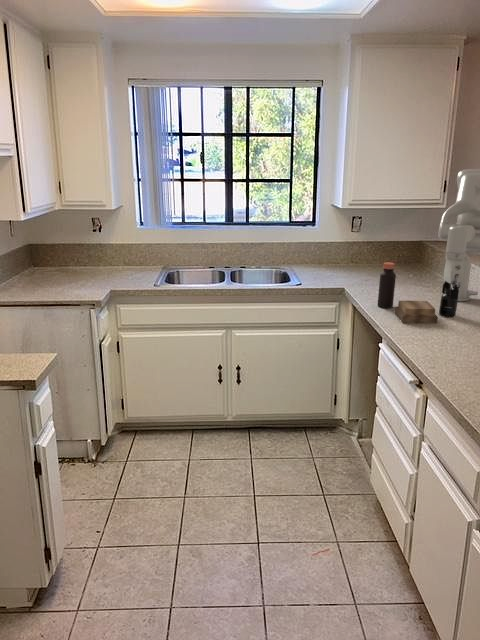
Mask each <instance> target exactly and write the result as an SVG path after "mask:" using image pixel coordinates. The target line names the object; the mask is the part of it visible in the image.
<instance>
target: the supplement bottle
mask: <svg viewBox="0 0 480 640" xmlns="http://www.w3.org/2000/svg"><path fill="white" fill-rule="evenodd" d="M451 289H452V287H446V288H445V291H444V292H445V293H444V294H443V293H441V297H440V304H439V310H438V315H439V316H441V317H443V316H444V317H443V318H455V317H456V315H457V309H458V303H459V301H458V299H450V291H451ZM454 316H455V317H454Z"/></svg>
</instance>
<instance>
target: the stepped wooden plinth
mask: <svg viewBox="0 0 480 640" xmlns="http://www.w3.org/2000/svg"><path fill="white" fill-rule="evenodd" d="M397 303H398V304H397V305H398V306H394V314H395V315H397V316H396V317H397V318H398V319H399V321H400V320H401V321H400V322H401V324H418V323H437V324H438V315H436V308H435V307H434V306H433V305H432V304H431V303H430V302H428V300H398V302H397Z"/></svg>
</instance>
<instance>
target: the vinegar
mask: <svg viewBox="0 0 480 640" xmlns="http://www.w3.org/2000/svg"><path fill="white" fill-rule="evenodd" d="M395 265H396V264H395V263H394V262H389V261H387V262H383V264H382V271H381V273H380V275H379V281H378V282H379V285H378V293H377V294H378V295H377V307H379V308H381V309H392V308H394V296H395V288H396V279H397V278H396V277H397V275H396V273H395V272H394V270H395Z"/></svg>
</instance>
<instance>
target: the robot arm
mask: <svg viewBox="0 0 480 640" xmlns="http://www.w3.org/2000/svg"><path fill="white" fill-rule="evenodd" d="M456 184H457V195H456V201H455V203H454V204H452V205H451V206H449V207H448V208H447V209H446V210H445V212H444V213H443V214H442V216H441V219H440V223H439V227H438V231H437V232H438V233H437V235H438V239H439V240H440V241H443V242H446V249H445V256H444V259H445V260H446V261H445V264H444V270H443V282H442V288H441V289H442V291H441V294H444V293H445V292H444V291H445V288H446V287H452V289H451V291H450V299H458V302H467V301H469V300H471V296H478V291H477V290H475V291H474V290H470V289H469V282H470V275H471V270H472V269H471V268H472V260H471V258H470V257H469V256H468V255H469V254H470V255H471V254H472V255H480V233H479V232H480V196H479V194H480V168H478V169H477V168H468V169H467V168H466V169H462V170H459V171H458V173H457V176H456ZM455 217H457V219H456V223H452V222H449V221H450V220H451V219H453V218H455ZM448 222H449V223H448ZM476 231H479V232H478V233H477V232H476Z"/></svg>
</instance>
